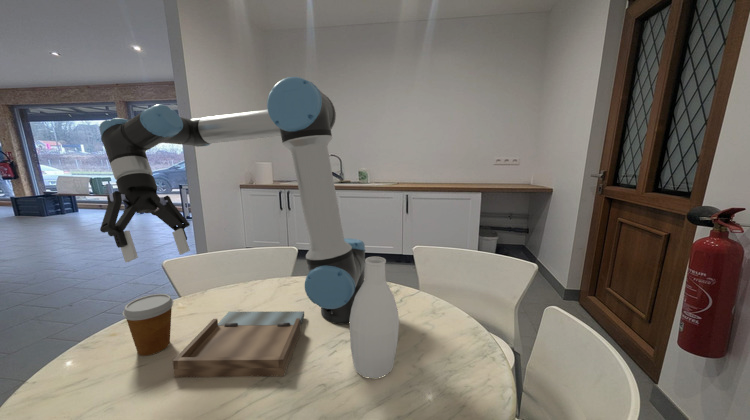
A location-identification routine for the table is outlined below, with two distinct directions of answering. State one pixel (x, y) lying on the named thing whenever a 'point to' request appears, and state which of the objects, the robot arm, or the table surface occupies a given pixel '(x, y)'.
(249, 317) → the shallow wooden crate
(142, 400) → the table surface
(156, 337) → the disposable coffee cup
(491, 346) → the table surface
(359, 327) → the bottle
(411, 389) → the table surface
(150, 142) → the robot arm
